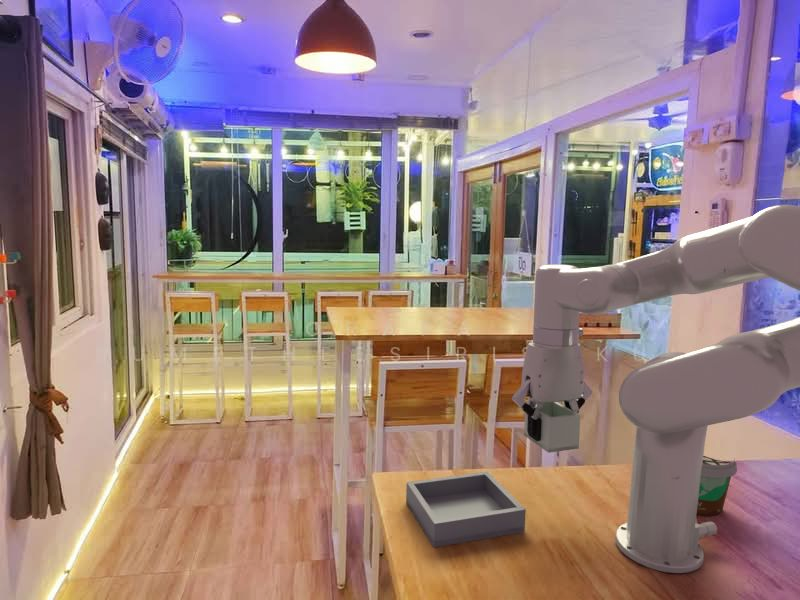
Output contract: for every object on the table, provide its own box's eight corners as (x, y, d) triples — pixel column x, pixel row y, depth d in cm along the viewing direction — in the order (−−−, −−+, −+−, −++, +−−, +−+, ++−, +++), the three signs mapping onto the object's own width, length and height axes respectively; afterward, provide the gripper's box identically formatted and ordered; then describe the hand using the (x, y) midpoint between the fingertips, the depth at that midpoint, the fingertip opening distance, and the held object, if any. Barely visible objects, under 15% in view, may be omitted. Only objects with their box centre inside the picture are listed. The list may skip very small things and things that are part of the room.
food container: (654, 509, 100) (659, 456, 98) (656, 494, 105) (661, 444, 104) (734, 528, 94) (740, 472, 93) (732, 511, 100) (738, 458, 98)
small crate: (552, 431, 103) (554, 400, 103) (578, 448, 96) (580, 415, 95) (524, 435, 102) (525, 403, 101) (548, 452, 94) (549, 418, 93)
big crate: (486, 491, 105) (487, 471, 105) (524, 531, 92) (525, 509, 91) (406, 502, 100) (406, 482, 100) (433, 547, 87) (434, 523, 87)
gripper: (584, 329, 102) (580, 423, 105) (500, 335, 97) (497, 433, 100) (611, 337, 95) (605, 438, 98) (521, 344, 90) (518, 450, 92)
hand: (551, 435), depth 99 cm, fingers closed on small crate, 6 cm apart
